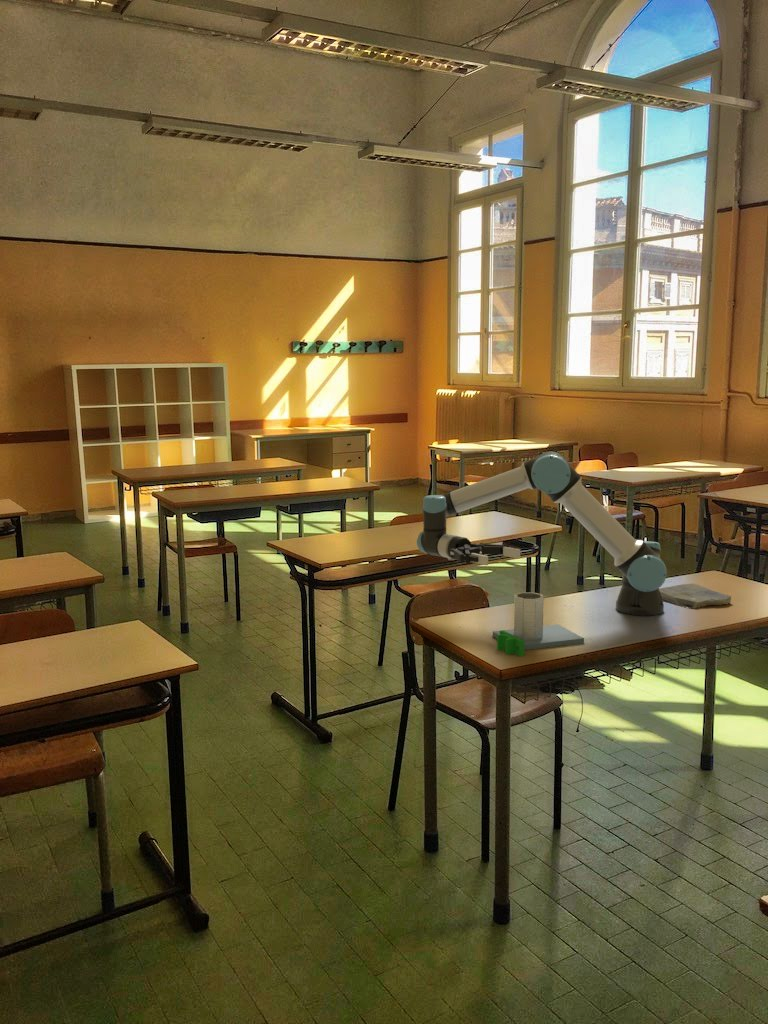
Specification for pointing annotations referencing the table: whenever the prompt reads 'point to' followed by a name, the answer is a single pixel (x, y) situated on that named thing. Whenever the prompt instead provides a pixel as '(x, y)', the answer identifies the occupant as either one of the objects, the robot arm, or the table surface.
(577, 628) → the table surface
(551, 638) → the base
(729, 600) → the fossil
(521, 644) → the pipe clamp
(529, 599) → the sleeve
